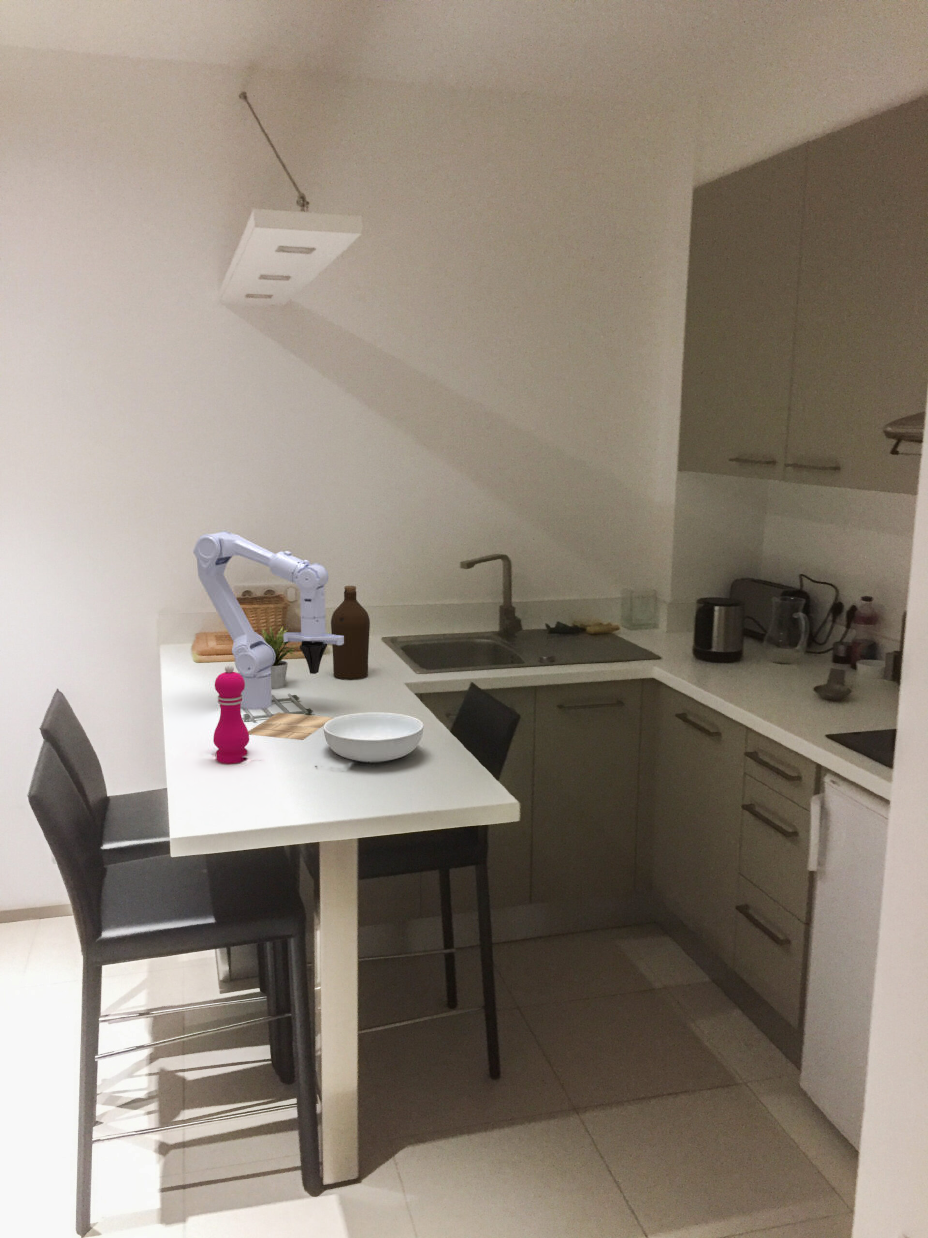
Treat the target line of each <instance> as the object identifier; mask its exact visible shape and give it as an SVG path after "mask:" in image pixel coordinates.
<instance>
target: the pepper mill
mask: <svg viewBox="0 0 928 1238" xmlns="http://www.w3.org/2000/svg"><path fill="white" fill-rule="evenodd" d="M234 669H235V668H234V666H233V665H232V664H226V665H225V667H224V672H222V673H220V674H218V675H217V676H216V678H215V681H214V690H215V692H217V694H218V695H217V704H218V705H219V707H220V715H219V719H218V721H217V724H216V727H215V729H214V733H213V739H212V740H213V744H214V746H215V747H216V748H217V750H216V753H215V754H216V755H215V756H216V758H215V759H216V761H217V762H218V763H220V764H224V765H225V764H228V765H229V764H231V765H233V764H239V763H242V762H245V761H247V760H248V757H245V756H247V754H248V749H247V748H246V747H247V746H248V744H249V742H250V735H249V733H248V731H249V730H248V727H247V726H246V724H245V722H244V720H243V717H242V716H243V715H242V713H241V712H242V710H241V709H242V708H241V703H242V702H243V699H242V697H243V695H242V694H241V693H242V691H243V690H244V688H245V681H244V679H243V677H242V676H241V675H240V674H239V673H240V672H236V671H234Z"/></svg>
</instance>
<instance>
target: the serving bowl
mask: <svg viewBox="0 0 928 1238" xmlns="http://www.w3.org/2000/svg"><path fill="white" fill-rule="evenodd" d="M333 718H334V719H331V720H329V721H328V722H326V723H325V724H324V726H323V733H324V738H325V741H326V744H327V745H328V746H329V747H330V749H331V750H332V751H333V752H334V753H335V754H337V755H339V756H341V757H343V758H345V759H348V760H353V761H357V762H362V763H368V762H369V763H368V764H370V763H374V764H375V763H384V762H389V761H392V760H396V759H399V758H402V757H405V756H407V755H408V754H410V753H411V752H413V751H414V750H415V749H416V748H417V746H418V745H419V744H420V742H421V740H422V736H423V733H424V727H425V726H424V723H423V722H422V721H421V720H420V719H418V718H416V717H414V716H410V715H407V714H401V713H394V712H382V711H381V712H376V711H374V712H360V713H351V714H346V715H345V714H344V715H341V716H336V717H333Z"/></svg>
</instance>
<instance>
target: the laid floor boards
mask: <svg viewBox="0 0 928 1238" xmlns="http://www.w3.org/2000/svg"><path fill="white" fill-rule="evenodd" d="M319 729H320V728H314V727H304V726H294V725H284V724H274V723H263V722H261V723H260V724H257V725H256V726H254V727H252V728H251V729H250V730H248V733H249V736H250V735H252V736H258V737H259V736H261V737H272V738H280V739H290V740H298V741H299V740H301V741H303V740H305V739H307V738H308V737H309V736H310V735H312V734H314V733H315V732H317V731H318V730H319Z"/></svg>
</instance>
